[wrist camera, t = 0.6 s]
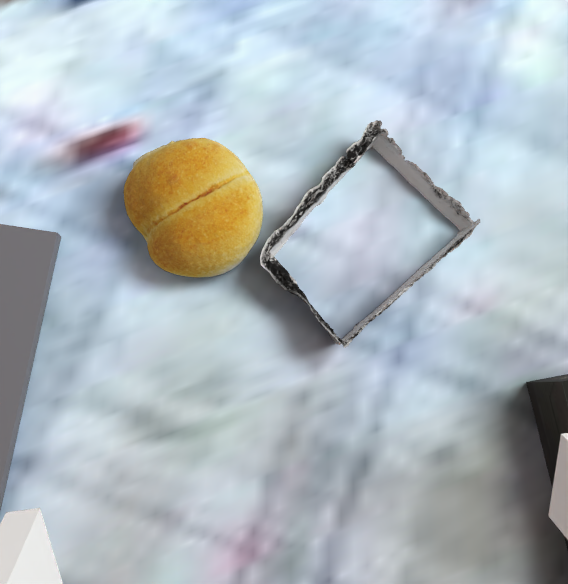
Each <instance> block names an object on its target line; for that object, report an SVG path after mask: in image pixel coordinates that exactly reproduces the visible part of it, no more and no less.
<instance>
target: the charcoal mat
mask: <svg viewBox="0 0 568 584" xmlns="http://www.w3.org/2000/svg"><path fill="white" fill-rule="evenodd" d="M60 239H61V236H60V235H59V234H58V233H56V232H49V231H42V230H36V229H29V228H22V227H16V226H9V225H3V224H0V510H1V506H2V501H3V497H4V492H5V488H6V483H7V479H8V474H9V470H10V465H11V460H12V456H13V451H14V447H15V442H16V438H17V433H18V429H19V424H20V420H21V415H22V411H23V406H24V402H25V397H26V393H27V388H28V384H29V379H30V375H31V370H32V366H33V361H34V357H35V352H36V348H37V343H38V339H39V334H40V330H41V325H42V321H43V316H44V312H45V307H46V303H47V298H48V294H49V289H50V285H51V280H52V275H53V271H54V266H55V262H56V257H57V253H58V248H59V244H60Z"/></svg>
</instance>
